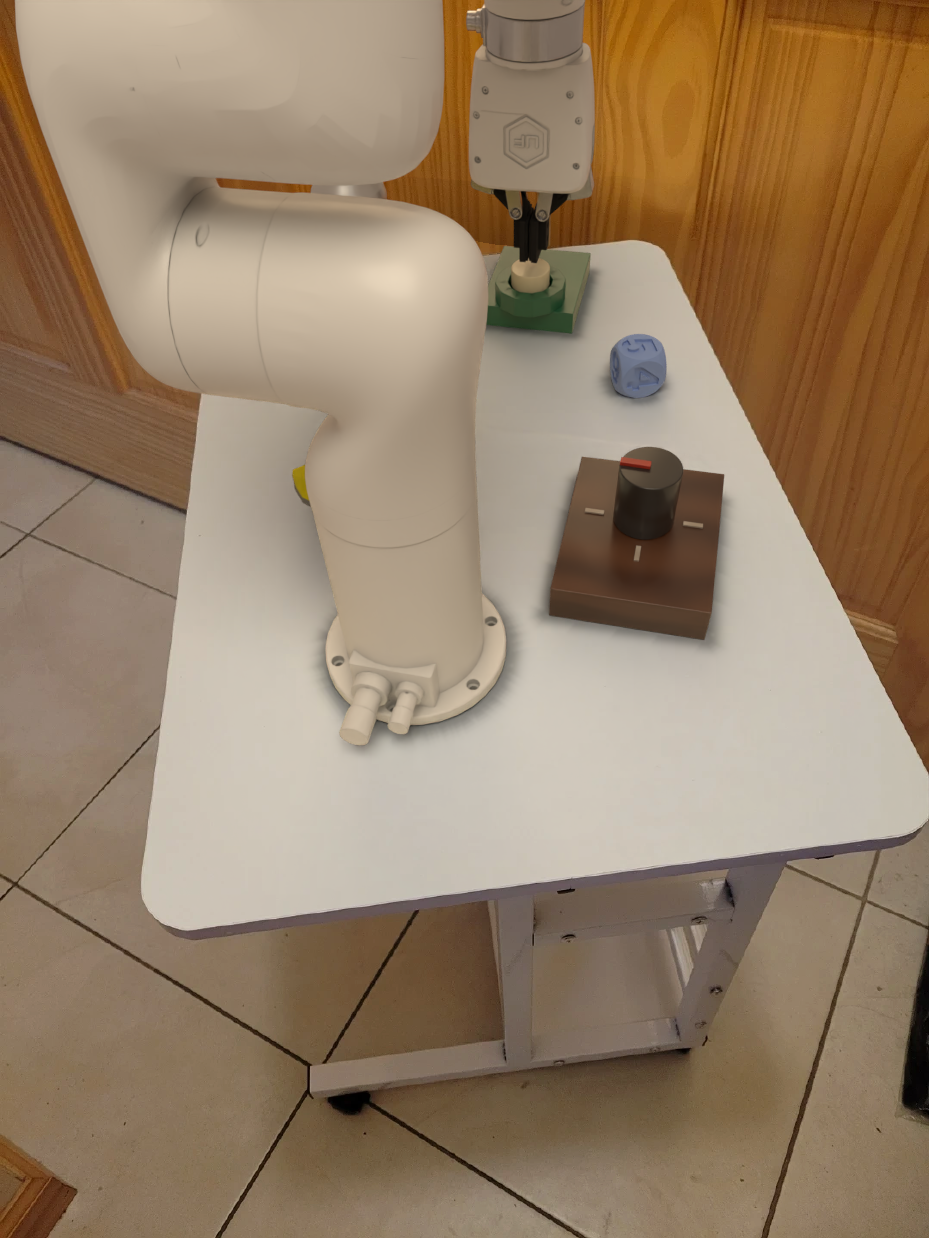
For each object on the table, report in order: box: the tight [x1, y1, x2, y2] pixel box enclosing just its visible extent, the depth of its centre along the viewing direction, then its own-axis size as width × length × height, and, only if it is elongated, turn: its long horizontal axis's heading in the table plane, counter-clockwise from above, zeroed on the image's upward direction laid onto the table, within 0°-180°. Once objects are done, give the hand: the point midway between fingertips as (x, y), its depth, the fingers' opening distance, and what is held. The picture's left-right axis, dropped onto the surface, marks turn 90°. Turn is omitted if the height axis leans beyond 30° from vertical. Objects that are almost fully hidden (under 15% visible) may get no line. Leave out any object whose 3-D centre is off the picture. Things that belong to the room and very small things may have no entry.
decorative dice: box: [609, 333, 668, 399], centre depth 79 cm, size 4×4×4 cm
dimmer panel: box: [548, 456, 725, 641], centre depth 66 cm, size 14×11×3 cm
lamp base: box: [486, 245, 592, 334], centre depth 88 cm, size 12×9×4 cm
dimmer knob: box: [613, 446, 684, 540], centre depth 64 cm, size 4×4×5 cm
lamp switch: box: [511, 258, 550, 293], centre depth 84 cm, size 4×4×2 cm
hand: (531, 254), depth 83 cm, fingers closed
